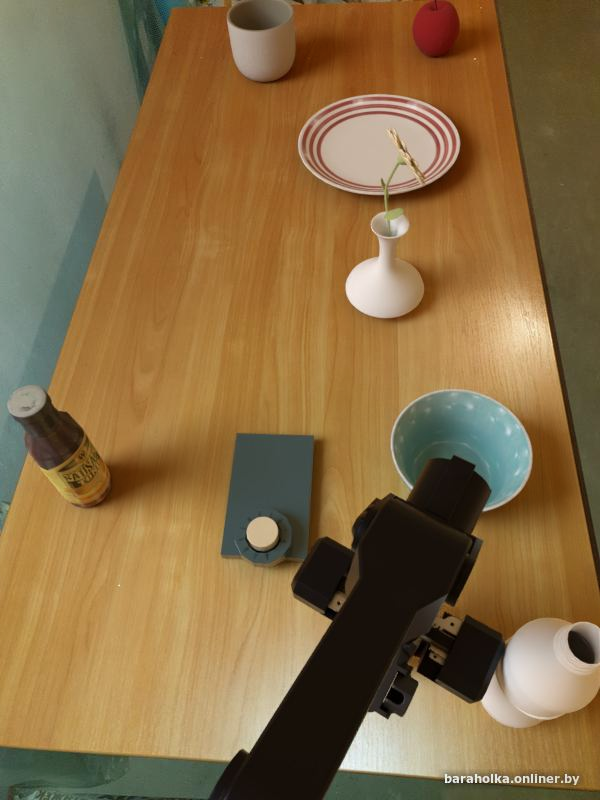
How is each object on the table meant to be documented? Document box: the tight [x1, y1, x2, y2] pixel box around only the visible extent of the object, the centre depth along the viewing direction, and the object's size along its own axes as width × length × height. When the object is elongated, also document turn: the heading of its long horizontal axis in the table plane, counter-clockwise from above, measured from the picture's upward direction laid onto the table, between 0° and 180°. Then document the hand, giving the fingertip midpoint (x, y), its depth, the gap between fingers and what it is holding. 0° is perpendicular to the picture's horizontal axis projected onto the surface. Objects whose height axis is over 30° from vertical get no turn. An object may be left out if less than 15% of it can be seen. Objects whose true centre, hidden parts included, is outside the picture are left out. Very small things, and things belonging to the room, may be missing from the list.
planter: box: [226, 0, 297, 83], centre depth 121 cm, size 12×12×11 cm
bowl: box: [389, 388, 534, 514], centre depth 75 cm, size 16×16×8 cm
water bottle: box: [480, 617, 600, 729], centre depth 55 cm, size 7×7×25 cm
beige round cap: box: [247, 517, 279, 551], centre depth 72 cm, size 4×4×2 cm
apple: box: [411, 0, 461, 57], centre depth 122 cm, size 9×9×10 cm
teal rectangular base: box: [220, 432, 315, 568], centre depth 77 cm, size 17×10×3 cm, turn 176°
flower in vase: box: [345, 127, 426, 320], centre depth 84 cm, size 13×11×25 cm
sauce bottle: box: [6, 384, 112, 509], centre depth 72 cm, size 6×6×20 cm
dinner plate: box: [297, 93, 461, 196], centre depth 109 cm, size 28×27×3 cm
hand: (388, 634), depth 64 cm, fingers closed on pill bottle, 6 cm apart
